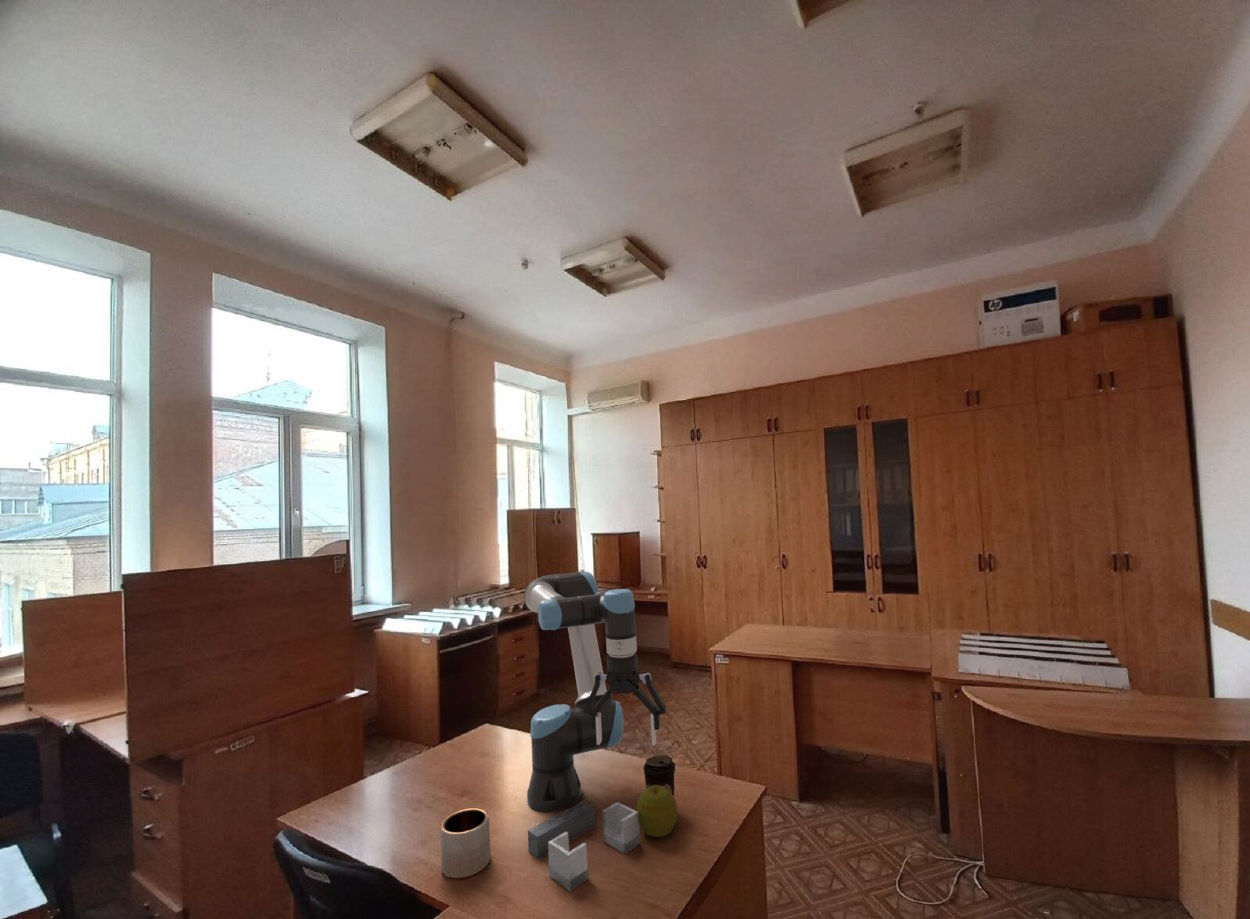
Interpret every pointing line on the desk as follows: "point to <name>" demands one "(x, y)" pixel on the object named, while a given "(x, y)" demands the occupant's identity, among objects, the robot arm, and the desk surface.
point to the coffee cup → (660, 772)
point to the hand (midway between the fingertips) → (626, 742)
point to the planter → (465, 842)
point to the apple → (657, 811)
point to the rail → (561, 827)
